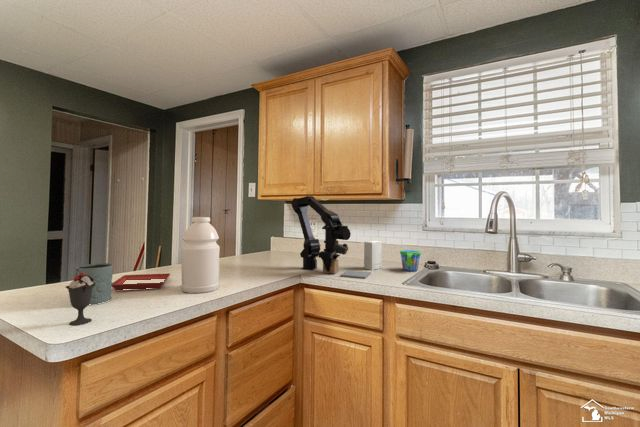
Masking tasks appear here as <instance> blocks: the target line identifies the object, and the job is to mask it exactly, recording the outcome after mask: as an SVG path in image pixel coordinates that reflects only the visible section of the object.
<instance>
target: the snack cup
mask: <svg viewBox="0 0 640 427" xmlns="http://www.w3.org/2000/svg"><path fill="white" fill-rule="evenodd" d="M399 254H400V258H401V265H402V269H403V271H406V272H417V271H418V270H419V264H420V257H421V255H422V252H421V251H420V250H414V249H403V250H399Z"/></svg>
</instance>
